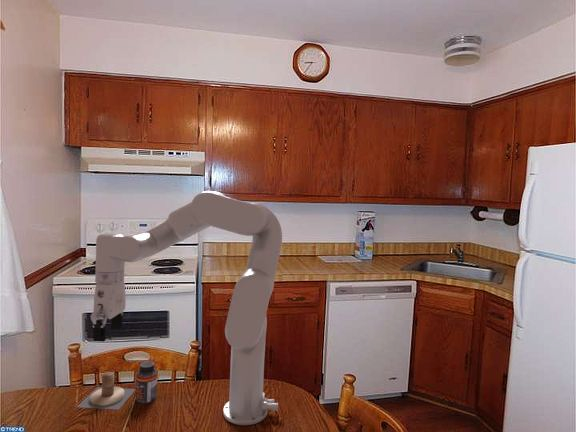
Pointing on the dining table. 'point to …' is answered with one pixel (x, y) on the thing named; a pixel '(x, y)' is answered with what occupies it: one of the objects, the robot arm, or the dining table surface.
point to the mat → (116, 406)
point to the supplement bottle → (146, 383)
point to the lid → (107, 392)
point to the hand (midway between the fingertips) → (108, 334)
